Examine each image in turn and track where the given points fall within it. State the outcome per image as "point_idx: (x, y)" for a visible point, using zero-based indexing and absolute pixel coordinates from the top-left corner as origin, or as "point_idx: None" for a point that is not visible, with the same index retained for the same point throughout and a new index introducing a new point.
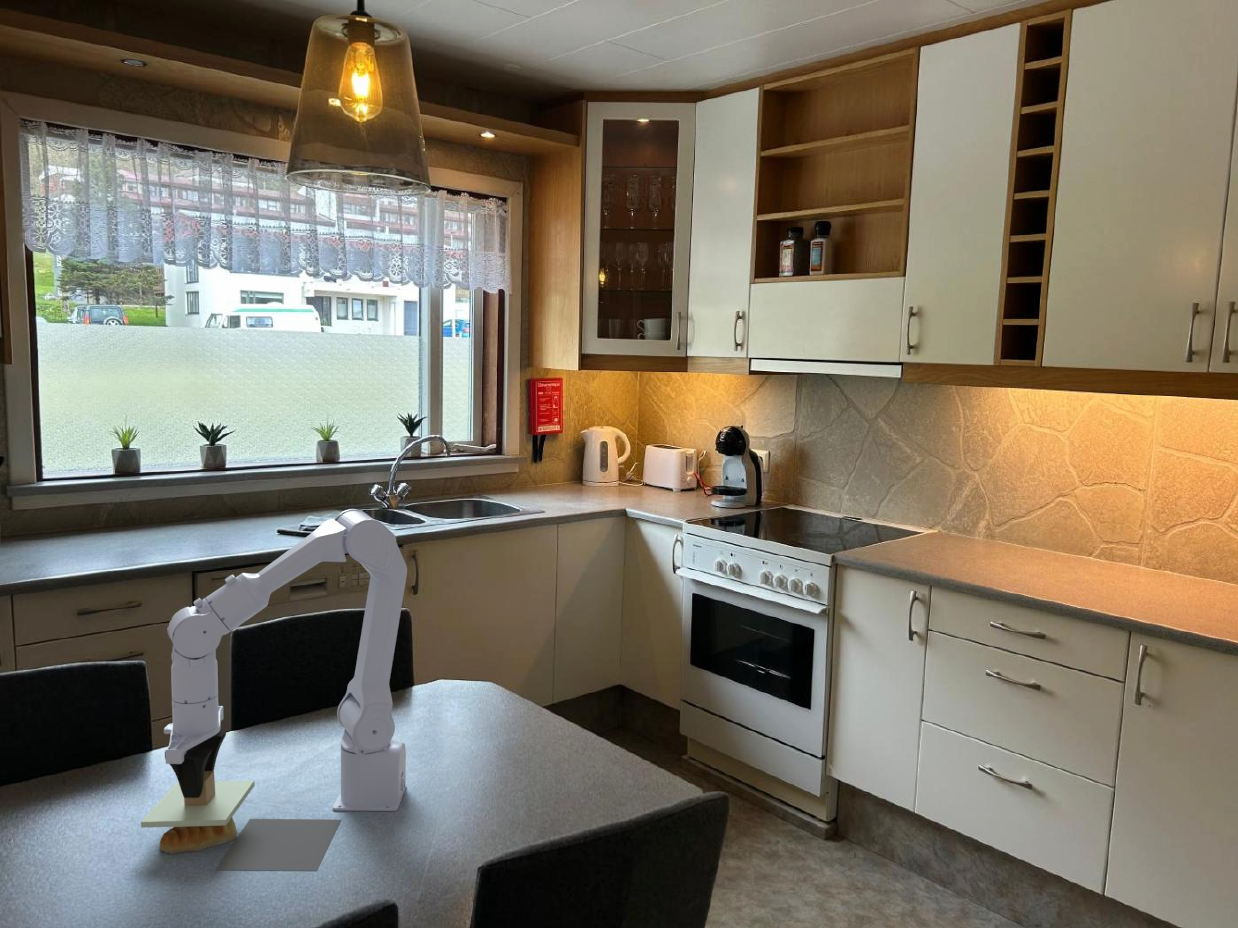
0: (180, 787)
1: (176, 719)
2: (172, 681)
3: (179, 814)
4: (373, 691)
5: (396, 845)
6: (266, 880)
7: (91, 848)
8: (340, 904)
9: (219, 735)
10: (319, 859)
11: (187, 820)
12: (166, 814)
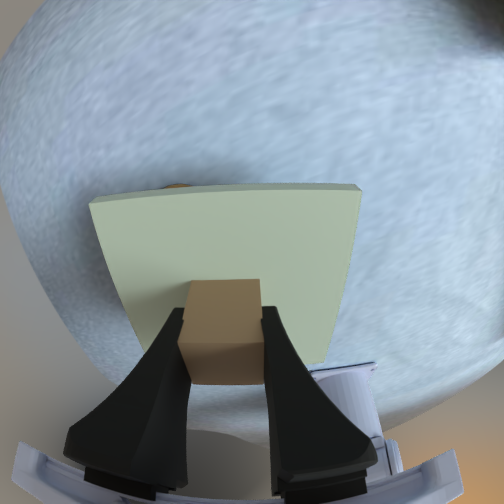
0: (160, 330)
1: None
2: None
3: (146, 284)
4: None
5: (233, 410)
6: (137, 350)
7: (158, 29)
8: None
9: (280, 495)
10: (191, 382)
11: (125, 310)
12: (138, 253)
